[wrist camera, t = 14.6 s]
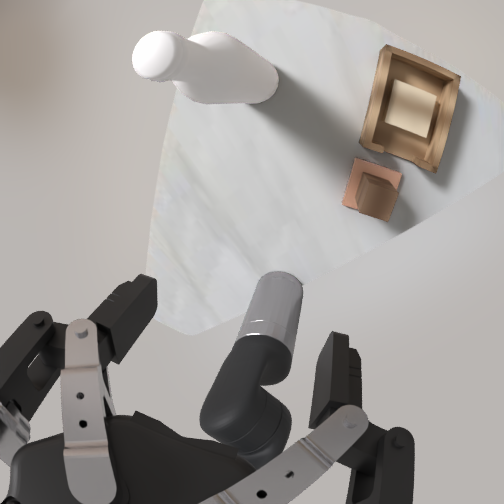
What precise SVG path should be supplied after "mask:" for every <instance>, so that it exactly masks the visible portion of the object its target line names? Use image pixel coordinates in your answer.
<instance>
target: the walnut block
mask: <svg viewBox="0 0 504 504" xmlns="http://www.w3.org/2000/svg"><path fill="white" fill-rule="evenodd" d="M398 194H399V193H398V192H397V190H396V189H395V188H394V186H393V185H392V184H391V183H390V181H389V180H386V179H383V178H381V177H378V176H375V175H372V174H369V173H366V172H363V173H362V177H361V180H360V183H359V186H358V189H357V192H356V195H355V200H356V203H357V206H358V210H359V213H362V214H365V215H368V216H371V217H375V218H378V219H381V220H384V221H387V222H388V221H389V218H390V215H391V213H392V210H393V208H394V205H395V202H396V199H397V197H398Z"/></svg>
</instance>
